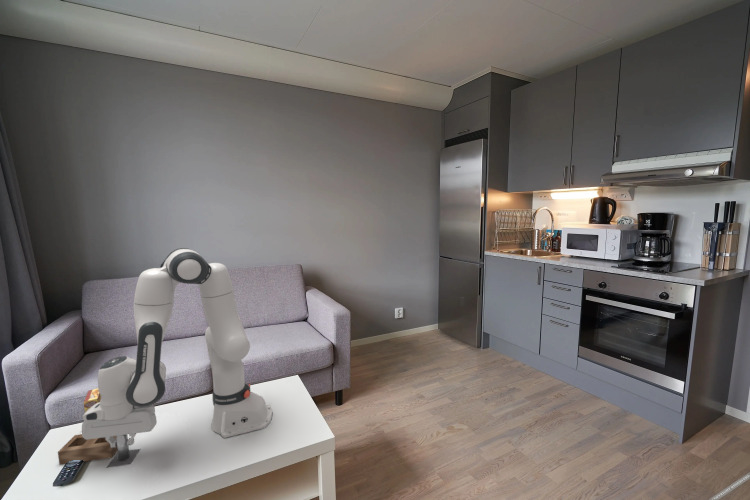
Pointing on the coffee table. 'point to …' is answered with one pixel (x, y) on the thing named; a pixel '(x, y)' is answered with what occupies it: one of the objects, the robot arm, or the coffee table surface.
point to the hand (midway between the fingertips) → (122, 445)
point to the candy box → (91, 399)
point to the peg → (122, 447)
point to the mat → (128, 461)
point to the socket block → (85, 449)
